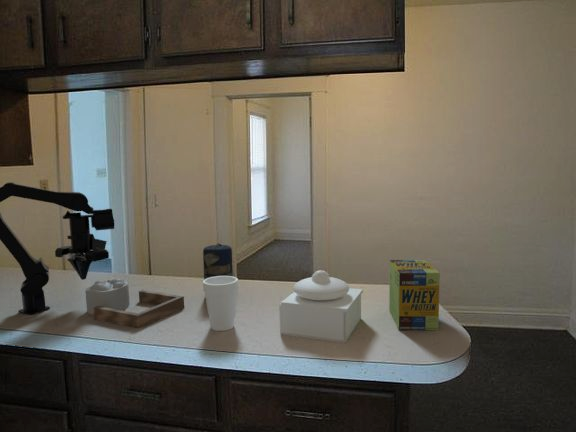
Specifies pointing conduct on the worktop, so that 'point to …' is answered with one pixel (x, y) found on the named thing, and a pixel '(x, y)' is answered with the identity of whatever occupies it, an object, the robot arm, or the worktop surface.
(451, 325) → the worktop surface
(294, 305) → the white lidded box
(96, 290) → the lumpy-topped squat cylinder
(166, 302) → the bay
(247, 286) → the worktop surface
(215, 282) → the foam cup
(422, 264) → the protein box
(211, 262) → the canister
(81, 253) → the robot arm
